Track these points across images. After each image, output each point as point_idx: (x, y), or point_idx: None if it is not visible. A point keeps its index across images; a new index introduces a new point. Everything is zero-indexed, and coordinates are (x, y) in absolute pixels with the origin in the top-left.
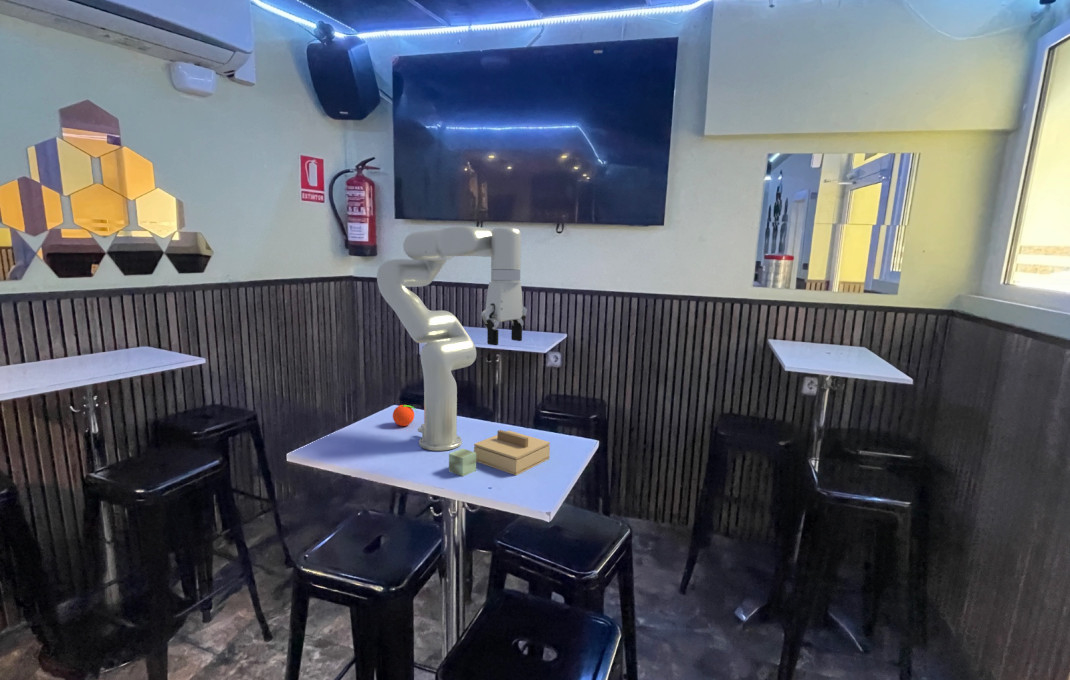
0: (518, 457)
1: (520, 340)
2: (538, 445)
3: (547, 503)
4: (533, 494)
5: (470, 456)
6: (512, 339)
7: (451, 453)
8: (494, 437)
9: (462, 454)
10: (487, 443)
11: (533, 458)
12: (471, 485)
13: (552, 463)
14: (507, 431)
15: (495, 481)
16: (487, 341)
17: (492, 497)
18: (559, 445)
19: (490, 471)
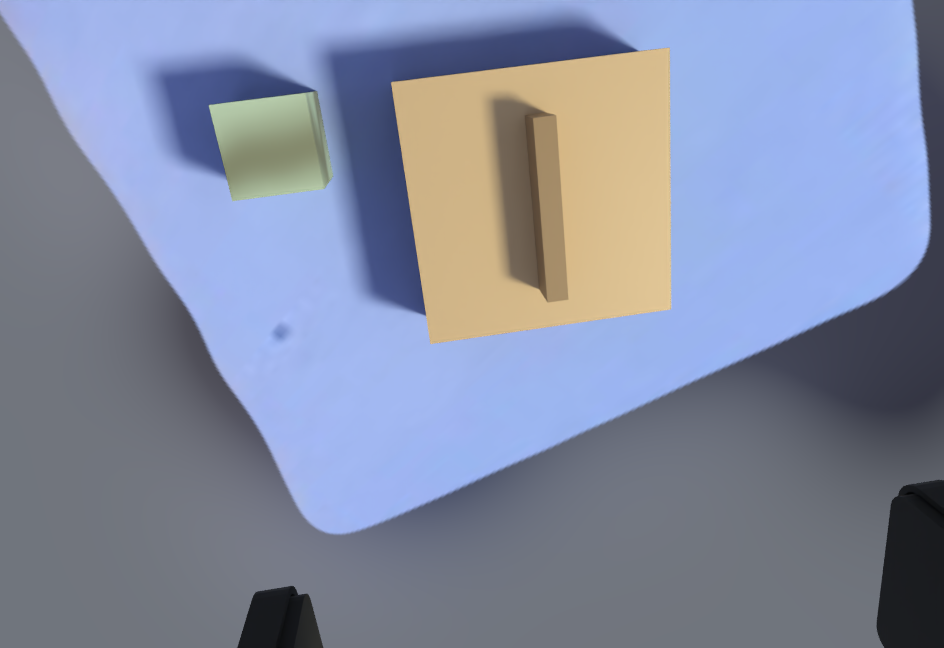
0: (443, 340)
1: (890, 638)
2: (603, 305)
3: (359, 517)
4: (368, 454)
5: (285, 193)
6: (893, 514)
7: (220, 112)
8: (533, 81)
9: (257, 161)
10: (447, 126)
11: None
12: (235, 274)
13: (614, 324)
14: (650, 56)
15: (331, 305)
16: (248, 616)
17: (242, 391)
18: (798, 209)
19: (375, 223)
